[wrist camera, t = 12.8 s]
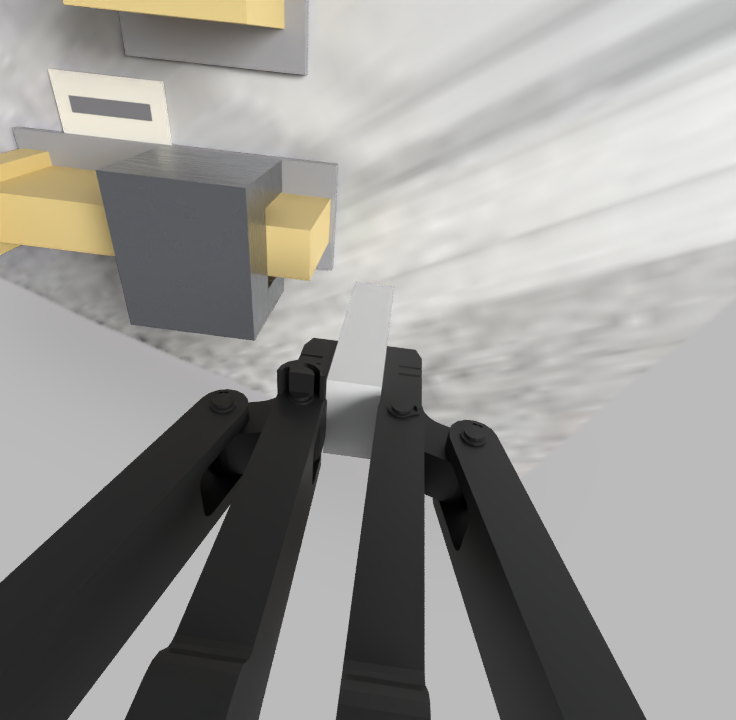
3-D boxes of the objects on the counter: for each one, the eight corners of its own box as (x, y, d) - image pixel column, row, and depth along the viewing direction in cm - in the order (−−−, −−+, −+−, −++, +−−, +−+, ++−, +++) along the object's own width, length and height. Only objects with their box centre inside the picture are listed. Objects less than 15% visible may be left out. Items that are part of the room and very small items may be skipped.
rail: (18, 126, 26) (-145, 158, 18) (337, 163, 25) (301, 212, 18) (50, 232, 29) (-78, 294, 22) (333, 267, 29) (300, 343, 21)
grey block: (161, 145, 23) (95, 169, 18) (281, 159, 23) (245, 188, 18) (181, 277, 27) (130, 324, 22) (283, 290, 27) (254, 340, 22)
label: (50, 68, 24) (47, 69, 24) (163, 81, 24) (161, 81, 24) (66, 132, 26) (63, 132, 26) (171, 144, 26) (170, 145, 25)
